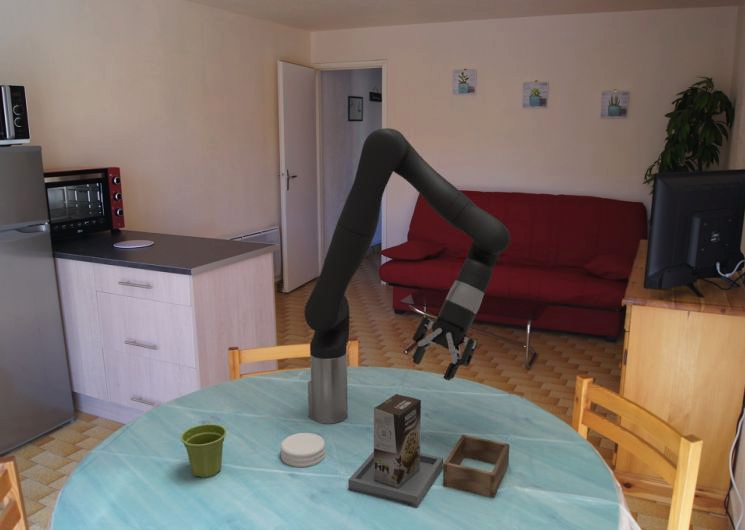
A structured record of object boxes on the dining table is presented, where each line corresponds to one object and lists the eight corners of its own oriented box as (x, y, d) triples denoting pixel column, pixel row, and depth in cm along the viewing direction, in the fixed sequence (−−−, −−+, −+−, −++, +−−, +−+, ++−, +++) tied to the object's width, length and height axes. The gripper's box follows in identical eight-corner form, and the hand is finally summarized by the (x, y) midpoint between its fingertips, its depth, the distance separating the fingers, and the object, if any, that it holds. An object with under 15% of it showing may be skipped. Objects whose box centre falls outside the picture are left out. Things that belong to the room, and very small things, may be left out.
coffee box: (399, 489, 123) (399, 415, 120) (372, 479, 127) (372, 407, 123) (421, 469, 131) (422, 399, 127) (396, 460, 134) (396, 392, 131)
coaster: (333, 451, 140) (333, 437, 139) (309, 472, 132) (308, 457, 131) (297, 442, 145) (297, 428, 144) (272, 461, 136) (271, 447, 135)
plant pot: (188, 487, 126) (185, 448, 124) (180, 466, 134) (177, 429, 132) (233, 475, 130) (231, 438, 128) (222, 455, 138) (220, 420, 137)
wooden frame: (442, 485, 126) (443, 463, 125) (461, 454, 138) (462, 434, 137) (493, 497, 122) (494, 475, 121) (508, 464, 134) (509, 444, 133)
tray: (348, 489, 125) (348, 479, 124) (380, 453, 139) (380, 444, 138) (417, 507, 119) (417, 496, 118) (443, 467, 133) (443, 457, 132)
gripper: (428, 290, 138) (398, 355, 137) (482, 313, 129) (449, 382, 128) (442, 298, 144) (413, 361, 143) (494, 320, 135) (464, 387, 134)
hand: (430, 371), depth 136 cm, fingers open, 8 cm apart
